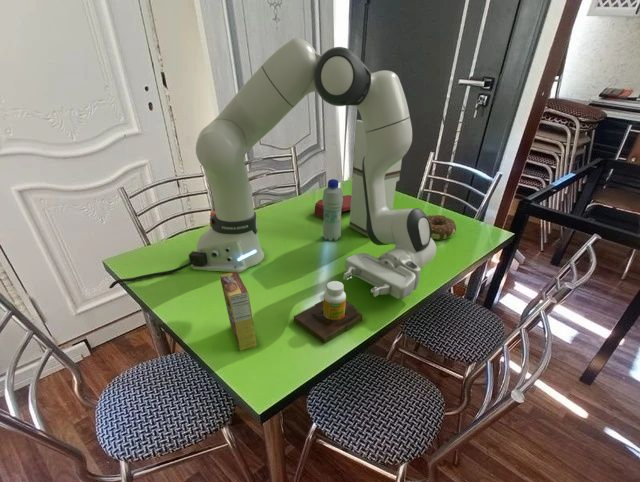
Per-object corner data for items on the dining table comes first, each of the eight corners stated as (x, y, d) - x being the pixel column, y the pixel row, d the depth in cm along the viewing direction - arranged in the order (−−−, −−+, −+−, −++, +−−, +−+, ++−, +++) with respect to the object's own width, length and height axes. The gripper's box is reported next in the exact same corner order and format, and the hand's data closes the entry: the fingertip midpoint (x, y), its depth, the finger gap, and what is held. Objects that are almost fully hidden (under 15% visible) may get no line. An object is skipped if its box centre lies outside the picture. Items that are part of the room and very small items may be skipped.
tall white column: (392, 230, 132) (407, 122, 110) (369, 238, 127) (380, 126, 105) (371, 220, 139) (381, 116, 117) (349, 226, 134) (356, 120, 113)
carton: (348, 206, 160) (310, 213, 143) (350, 194, 157) (311, 201, 140) (371, 213, 154) (333, 222, 137) (373, 201, 151) (335, 209, 134)
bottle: (339, 243, 124) (342, 183, 111) (320, 241, 125) (320, 182, 112) (342, 235, 129) (345, 177, 116) (324, 233, 130) (324, 175, 117)
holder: (324, 344, 83) (324, 338, 82) (293, 321, 90) (292, 315, 89) (366, 319, 91) (366, 313, 90) (334, 299, 98) (334, 294, 96)
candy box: (229, 328, 88) (219, 274, 78) (247, 324, 89) (238, 270, 80) (238, 352, 81) (228, 295, 72) (257, 346, 83) (249, 291, 73)
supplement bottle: (328, 327, 88) (329, 293, 82) (319, 314, 92) (320, 282, 86) (348, 321, 90) (350, 288, 84) (338, 309, 94) (340, 277, 88)
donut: (460, 232, 131) (464, 219, 128) (443, 245, 123) (447, 231, 120) (424, 221, 138) (427, 209, 135) (406, 233, 130) (408, 220, 127)
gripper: (365, 243, 103) (330, 259, 96) (426, 271, 92) (391, 291, 84) (363, 262, 107) (329, 279, 100) (421, 291, 96) (388, 313, 88)
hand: (358, 285), depth 92 cm, fingers open, 8 cm apart
